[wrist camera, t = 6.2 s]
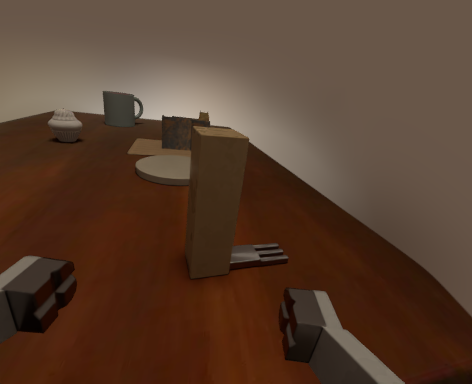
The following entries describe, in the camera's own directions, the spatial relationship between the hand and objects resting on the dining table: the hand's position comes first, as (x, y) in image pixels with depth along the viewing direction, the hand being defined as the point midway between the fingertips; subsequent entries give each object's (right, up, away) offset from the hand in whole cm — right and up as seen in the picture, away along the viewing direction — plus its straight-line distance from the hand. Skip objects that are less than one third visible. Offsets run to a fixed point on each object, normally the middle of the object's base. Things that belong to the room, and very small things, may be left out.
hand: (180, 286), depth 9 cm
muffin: (-36, +15, +44) cm, 59 cm away
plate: (-9, +7, +35) cm, 37 cm away
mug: (-36, +27, +74) cm, 86 cm away
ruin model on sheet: (-11, +15, +52) cm, 55 cm away
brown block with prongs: (+2, -3, +14) cm, 14 cm away
